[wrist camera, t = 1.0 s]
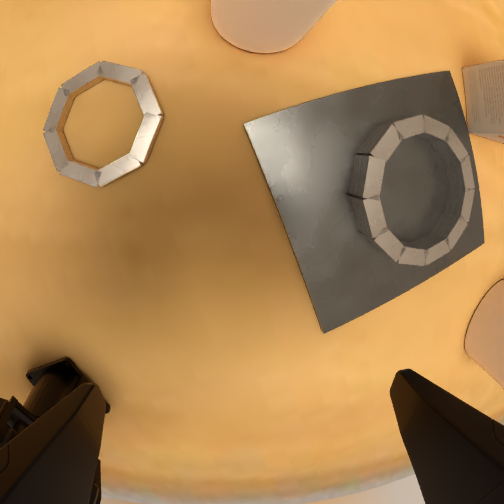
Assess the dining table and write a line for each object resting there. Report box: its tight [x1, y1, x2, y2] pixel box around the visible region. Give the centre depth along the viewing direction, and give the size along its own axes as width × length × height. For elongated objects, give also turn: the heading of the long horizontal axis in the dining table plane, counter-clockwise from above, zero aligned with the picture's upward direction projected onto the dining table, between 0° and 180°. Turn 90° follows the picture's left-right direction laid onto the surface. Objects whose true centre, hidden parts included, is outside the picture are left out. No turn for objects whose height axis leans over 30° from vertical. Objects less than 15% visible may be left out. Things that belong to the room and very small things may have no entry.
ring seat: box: [243, 71, 484, 334], centre depth 19 cm, size 18×16×2 cm
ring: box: [43, 61, 164, 187], centre depth 16 cm, size 8×8×1 cm
